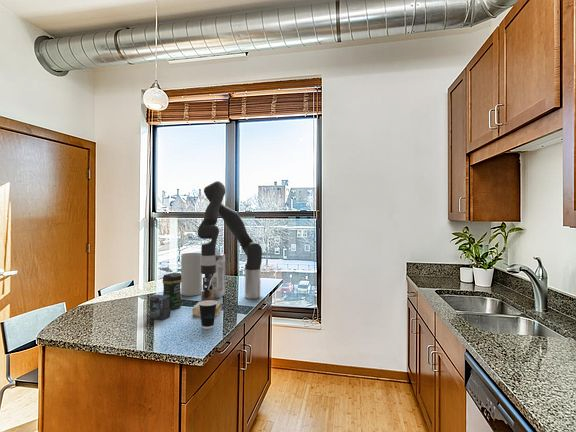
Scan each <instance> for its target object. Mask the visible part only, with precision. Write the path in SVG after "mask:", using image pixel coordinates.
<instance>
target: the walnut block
mask: <svg viewBox="0 0 576 432" xmlns="http://www.w3.org/2000/svg"><path fill="white" fill-rule="evenodd" d="M214 299H215V298H214V289H209V297H208V298H204V290H203V289H202V293H201V301H206V300H213V301H215V300H214Z"/></svg>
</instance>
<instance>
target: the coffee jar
mask: <svg viewBox="0 0 576 432" xmlns="http://www.w3.org/2000/svg"><path fill="white" fill-rule="evenodd" d="M181 280H182V279H181V273H179V272H171V273H166V274H163V276H162V284H163V290H162V291H163V293H162V295H166V296H170V311H171V310H174V309H175V310H176V309H178V308H180V307H181V306H182V294H181Z"/></svg>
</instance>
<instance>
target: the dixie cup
mask: <svg viewBox="0 0 576 432" xmlns="http://www.w3.org/2000/svg"><path fill="white" fill-rule="evenodd" d="M198 302H199V301H198ZM216 304H217V302H216V300H214V301H213V300H206V301H201V302H199V305H200V315H201V316H200V323H201V327H202V329H204V330H206V329H207V330H208V329H209V330H210V329H212V328H214V325H215V317H216V316H215V310H216Z"/></svg>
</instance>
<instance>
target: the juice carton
mask: <svg viewBox="0 0 576 432" xmlns="http://www.w3.org/2000/svg"><path fill="white" fill-rule="evenodd" d="M215 256H216V273H214V284H213V289H214V299H221V298H222V297H223V296H224V295H225V293H226V254H225V253H217V252H216V251H215Z"/></svg>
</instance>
